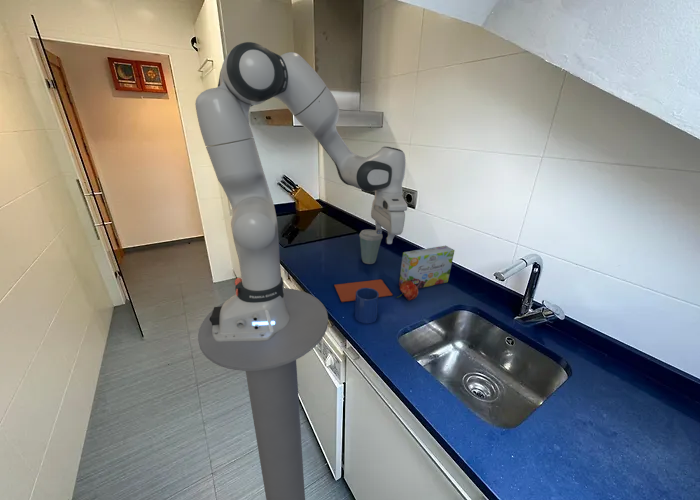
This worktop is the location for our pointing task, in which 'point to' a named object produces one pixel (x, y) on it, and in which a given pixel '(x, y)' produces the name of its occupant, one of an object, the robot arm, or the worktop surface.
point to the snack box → (427, 266)
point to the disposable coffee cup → (369, 245)
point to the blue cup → (366, 305)
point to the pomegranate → (409, 290)
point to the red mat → (349, 289)
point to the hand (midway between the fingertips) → (383, 238)
